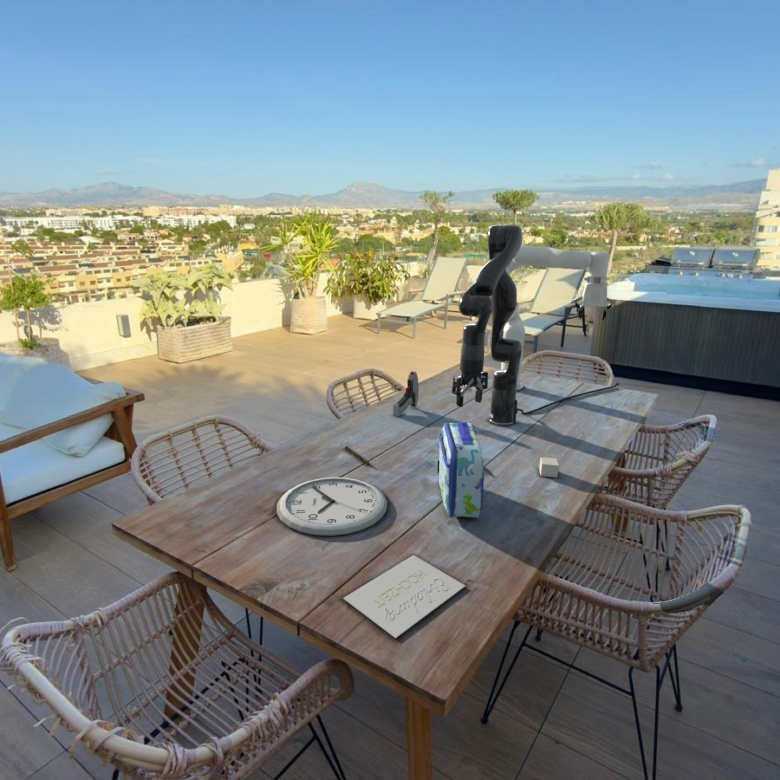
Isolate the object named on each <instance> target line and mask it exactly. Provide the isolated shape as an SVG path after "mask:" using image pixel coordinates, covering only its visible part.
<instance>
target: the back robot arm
mask: <svg viewBox="0 0 780 780" xmlns="http://www.w3.org/2000/svg"><path fill="white" fill-rule="evenodd" d="M609 258H610V254H609V252H607V251H587V250H568V249H567V250H566V249H558V248H555V247H550V246H538V245H537V246H536V245H535V246H534V245H523V244H521V247H520V249H519V251H518V253H517V254H516V255H515V257H514V258H513V260H512V261H511V263H510V264H509V265H508V267H507V268H506V271H507V272H508V274H509V275H510V274H512V273H513V272H514V271H515V270H517V269H518V268H519V267H520V266H529V267H530V266H531V267H541V268H542V267H543V268H558V269H560V268H561V269H571V270H585V269H587V268H588V272H587V276H586V277H583V281H585V284H584V286H583V291H582V295H581V296H578V297H576V298H574V299H573V303H574V306H575V307H576V308H577V310H578V311H577V317H578V319H579V320H582V318H583V308H586V307H587V308H588V307H589V308H602V310H601V318H600V319H601V320H602V321H605V319H607V312H608V311H609V310H610V309H611V308H612V307H613V305H614V304H615V301H614V300H612V299H610V297H608V284H607V283H606V280H607V273H608V268H609V267H608V266H609ZM490 298H491V296H490ZM579 301H581V302H580V304H579V303H578V302H579ZM607 302H608V303H609V304H608V305H607ZM503 338H506V339H513V340H518V341H520V342H521V345H522V353H521V359H520V366H519V373H518V379H517V389H516V391H520V390H522V389H523V388H524V385H523V383H521V377H522V368H523V366H522V365H523V357H524V356H523V355H524V346H525V339H526V329H525V325H524V322H523V320H522V318H521V316H520V313H519V311H518V308H516V309H515V311H514V313H513V314H512V316H511V317H510V318H509V320H508V321H507V323H506V325H505V327H504V330H503ZM507 367H508V363H503V362H500V370H502V369H506V368H507Z"/></svg>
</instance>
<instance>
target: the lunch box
mask: <svg viewBox="0 0 780 780" xmlns="http://www.w3.org/2000/svg"><path fill="white" fill-rule="evenodd" d="M438 438H439V450H438V453H439V454H438V455H439V456H438V457H439V458H438V460H437V471H436V472H437V474H438V486H439V488H440V492H441V493H440V494H441V498H442V499H441V500H442V504H443V507H444V510H445V512H446V514H447V516H448V517H449V518H451V519H453V518H456V517H464V518H477V519H478V518H480V517H481V515H482V511H483V505H484V488H485V486H484V484H485V483H484V482H485V471H484V468H485V467H484V459H483V454H482V453H483V452H482V447H481V444H480V442H479V440H478V437H477V434H476V430H475V428H474V424H473V423H471V422H468V421H461V422H460V421H459V422H450V423H449V422H445V423H443V426H442V430H441V433H439V436H438Z"/></svg>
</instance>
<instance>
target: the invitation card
mask: <svg viewBox="0 0 780 780" xmlns="http://www.w3.org/2000/svg"><path fill="white" fill-rule="evenodd" d="M465 587H466V585H465V584H463V582H460V581H459V580H457V579H455V578H453V577H452V576H450V575H448V574H446V573H445V572H444V571H442V570H440V569H438V568H437V567H435V566H434V565H431V564H430V563H428V562H426V561H425V560H423V559H421V558H420V557H418V556H416V555H414V554H413V555H410V556H409V557H408V558H406V559H404V560H403V561H401V562H399V563H398V564H395V566H393V567H391V568H390V569H388V570H386V571H385V572H383V573H382V574H380V575H378V576H377V577H374V579H372V580H370V581H369V582H367V583H365V584H364V585H362V586H360V587H359V588H357V589H356V590H353V591H352V592H351V593H349V594H347V595H346V596H344V597H343V600H344V601H345V602H346V603H348V604H349V605H350V606H352V607H353V608H354V609H356V610H357V611H358V612H360V614H362V615H364V616H365V617H366V618H368V619H369V620H370V621H372V622H373V623H374V624H375V625H377V626H378V627H379V628H381V629H382V630H383V631H385V632H386V633H387V634H389V635H390V636H391V637H393V638H394V639H397V638H398V637H400V636H401V635H403V634H404V633H405V632H406V631H408V630H409V629H411V628H412V627H413V626H414V625H416V624H417V623H418V622H420V621H421V620H422V619H424V618H425V617H426V616H428V615H429V614H430V613H432V612H433V611H435V610H436V609H438V608H439V607H440V606H441V605H442V604H444V603H445V602H447V601H448V600H449V599H451V598H453V597H454V596H455V595H456V594H457V593H459V592H460V591H462V590H463V589H464V588H465Z"/></svg>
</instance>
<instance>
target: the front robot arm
mask: <svg viewBox="0 0 780 780" xmlns="http://www.w3.org/2000/svg"><path fill="white" fill-rule="evenodd" d="M523 239H524V237H523V230H522V227H521V226H520V225H516V224H494V225H491V226H490V227H489V229H488V232H487V252H488V262H487V263H486V264H485V265H484V266H482V268H481V269H480V270H479V272H478V274H477V277H476V279H475V280H474V282H473V283H472V284H471V285H470V286H469V288H468V289H466V291H465V292H464V293H463V294H462V296H461V297H460V299H459V302H458V311H459V313H460V314H461V315H462V316H465V317H472V318H477V322H476V323H467V324H465V325H464V326H463V328H462V339H461V340H462V341H461V348H460V358H459V359H460V361H459V370H460V373H461V374H460V375H459V376H457V375H454V376H453V377H452V387H451V388H452V389H451V394H453V395H455V396H456V402H455V404H456V406H457V407H459V408H462V407H464V396H465V394H466V392H468V390H469V389H471V388H475V395H474V396H475V397H474V401H475V402H476V403H479V404H480V403H481V402H482V400H483V392H484V391H485V390H487V389H488V388H489V372H488V371H486V370H484V365H485V364H484V363H485V349H486V348H485V339H486V330H487V326H488V323H489V320H490V317H491V336H490V356H491V359H492V361H494V362H497V363H502V362H503V363H508V367H507V368H506V369H502V370H501V369H497V370H495V371H494V372H493V374H492V388H491V399H490V410H489V411H490V413H489V422H490V423H491V424H494V425H497V426H511V425H513V424H516V423H517V414H518V411H519V412H521V414H522V415H524V416H525V415H529V414H530V415H531V414H532V413H535V412H538V411H540V410H544V409H545V408H547V407H550V406H553V405H555V404H558V403H561V402H563V401H567V400H570V399H573V398H576V397H581V396H584V395H585V396H586V395H588V394H593V393H596V392H601V391H604V390H610V389H614V388H616V387H617V386H620V383H619V382H616V383H615V385H612V386H608V387H603V388H598V389H595V390H590V391H585V392H582V393H578V394H574V395H570V396H567V397H564V398H561V399H557V400H555V401H553V402H550V403H548V404H546V405H543V406H540V407H538V408H535V409H532V410H530V411H527V412H524V410H523V409H521V408H518V399H517V390H516V389H517V379H518V373H519V366H520V359H521V353H522V345H521V342H520V341H518V340H513V339H506V338H503V337H504V327H505V325H506V323H507V321H508V320H509V318H510V317H511V316H512V314H513V313H514V311H515V309H517V306H518V292H517V291H518V289H517V286H516V283H515V282H514V280H513V278H512V276H511V275H510V274H508V272H507V271H506V268H507V267H508V265H509V264H510V263H511V261H512V260H513V258H514V257H515V255H516V254H517V253H518V251H519V249H520V247H521V245H523ZM490 296H491V298H490Z"/></svg>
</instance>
